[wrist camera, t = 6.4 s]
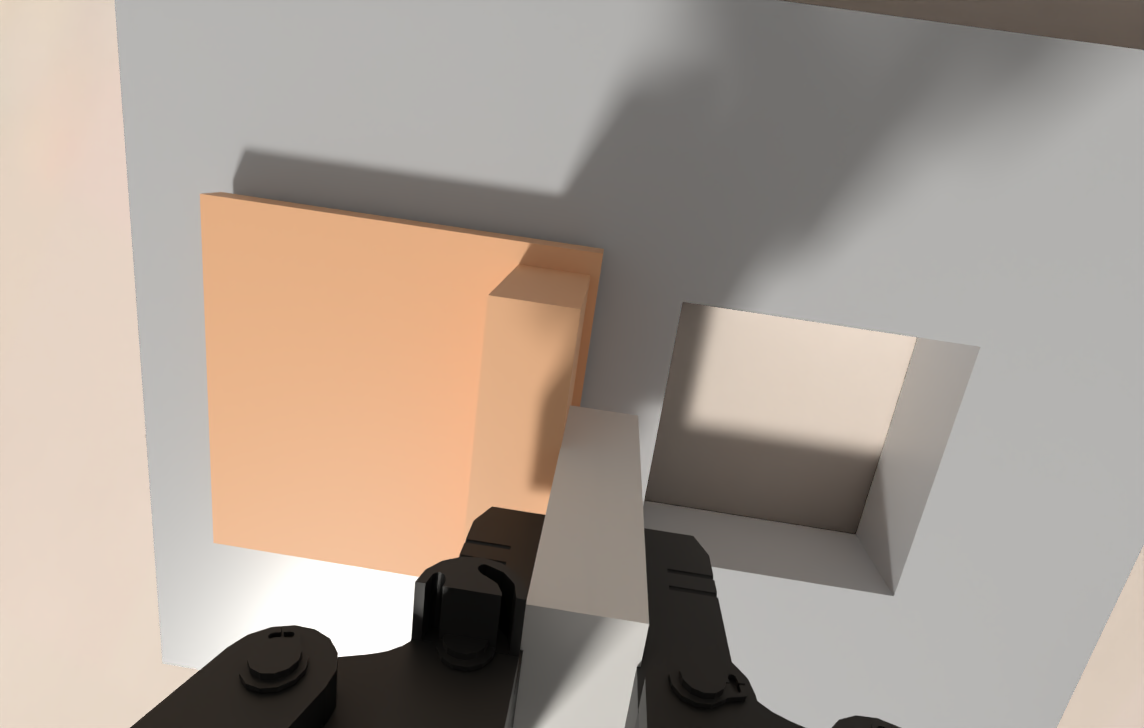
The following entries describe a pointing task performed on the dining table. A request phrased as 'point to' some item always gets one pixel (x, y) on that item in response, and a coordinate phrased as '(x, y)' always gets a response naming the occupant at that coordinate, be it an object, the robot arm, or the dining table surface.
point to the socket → (708, 296)
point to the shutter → (383, 377)
